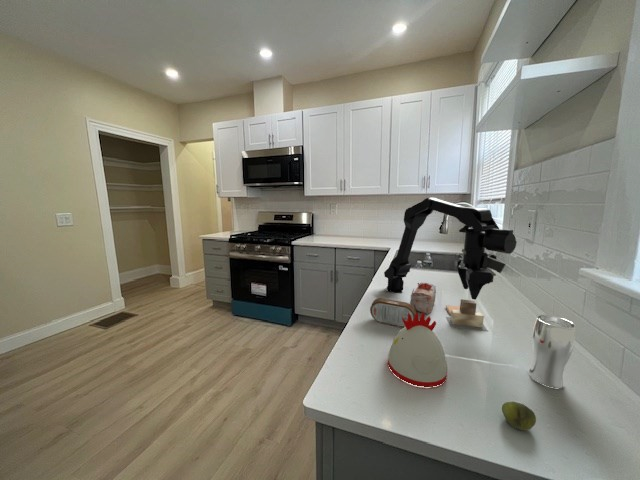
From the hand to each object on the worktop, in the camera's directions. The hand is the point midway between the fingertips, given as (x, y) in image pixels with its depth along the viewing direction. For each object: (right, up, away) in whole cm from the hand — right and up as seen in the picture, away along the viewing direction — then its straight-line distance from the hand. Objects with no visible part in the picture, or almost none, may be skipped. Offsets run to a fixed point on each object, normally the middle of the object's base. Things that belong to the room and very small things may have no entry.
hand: (469, 293), depth 82 cm
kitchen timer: (-25, -15, -19) cm, 35 cm away
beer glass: (+4, -16, -23) cm, 28 cm away
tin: (-25, -11, +3) cm, 27 cm away
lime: (-12, -18, -35) cm, 41 cm away
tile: (+3, -9, +13) cm, 16 cm away
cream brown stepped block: (0, -11, +2) cm, 11 cm away
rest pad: (0, -11, +2) cm, 11 cm away
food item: (-9, -9, +15) cm, 20 cm away
